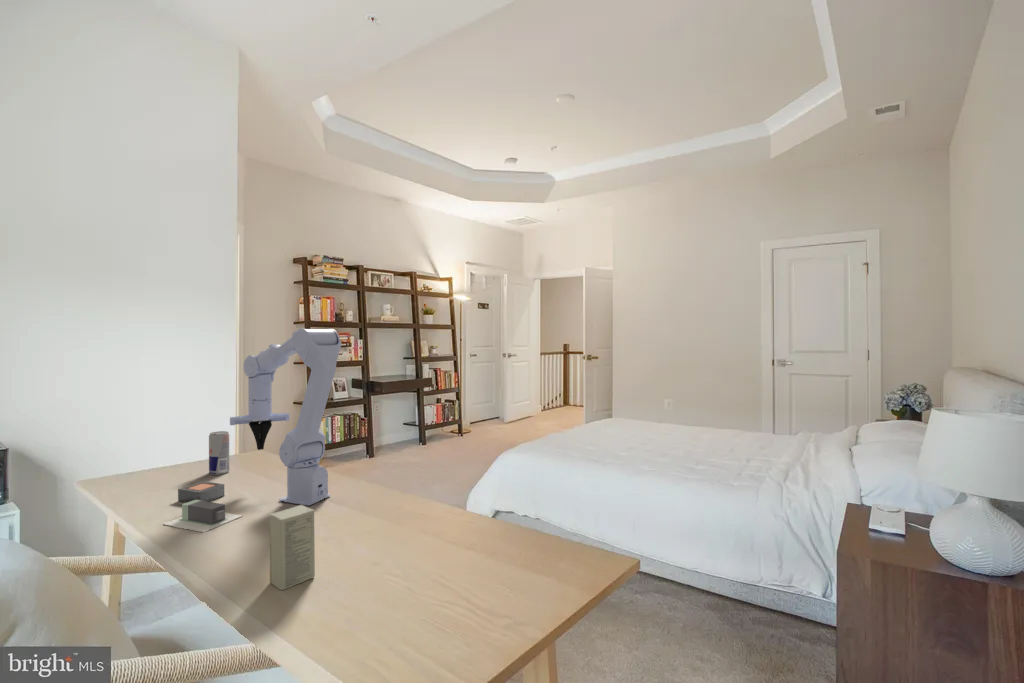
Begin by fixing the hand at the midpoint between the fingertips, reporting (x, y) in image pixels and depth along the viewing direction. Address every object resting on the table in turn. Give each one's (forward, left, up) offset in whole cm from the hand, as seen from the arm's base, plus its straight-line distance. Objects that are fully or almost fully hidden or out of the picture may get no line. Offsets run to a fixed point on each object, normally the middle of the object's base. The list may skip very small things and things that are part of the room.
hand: (260, 448), depth 143 cm
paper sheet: (-8, +24, -10) cm, 27 cm away
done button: (+6, +13, -9) cm, 17 cm away
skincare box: (-47, +39, -11) cm, 62 cm away
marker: (-8, +24, -10) cm, 27 cm away
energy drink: (+22, -6, -11) cm, 25 cm away
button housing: (+6, +13, -10) cm, 18 cm away
